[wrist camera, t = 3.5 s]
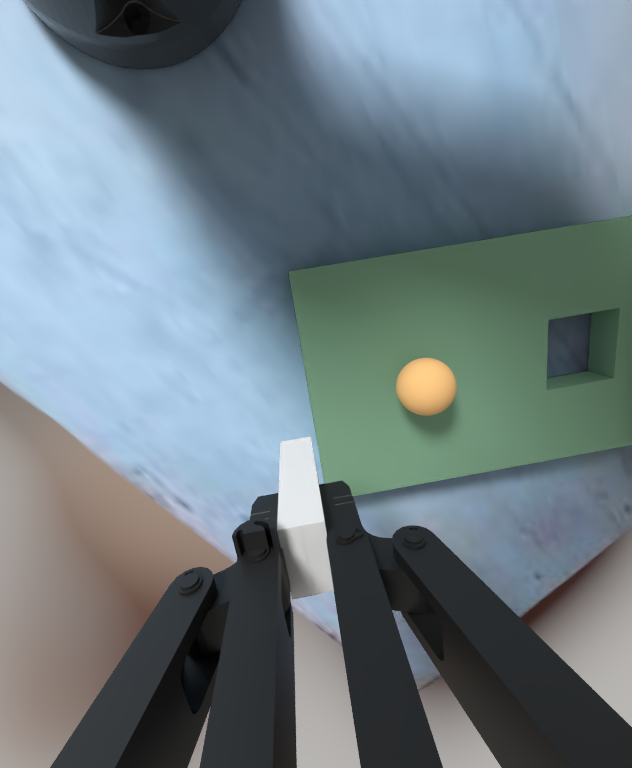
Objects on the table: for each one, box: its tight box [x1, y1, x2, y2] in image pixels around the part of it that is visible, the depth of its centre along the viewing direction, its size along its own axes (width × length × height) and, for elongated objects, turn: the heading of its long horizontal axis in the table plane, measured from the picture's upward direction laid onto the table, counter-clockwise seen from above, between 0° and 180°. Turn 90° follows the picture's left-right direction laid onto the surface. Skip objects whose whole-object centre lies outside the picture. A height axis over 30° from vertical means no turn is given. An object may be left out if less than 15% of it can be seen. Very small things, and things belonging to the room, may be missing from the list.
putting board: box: [288, 216, 632, 496], centre depth 26 cm, size 28×18×6 cm, turn 99°
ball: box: [396, 358, 457, 416], centre depth 24 cm, size 4×4×4 cm
